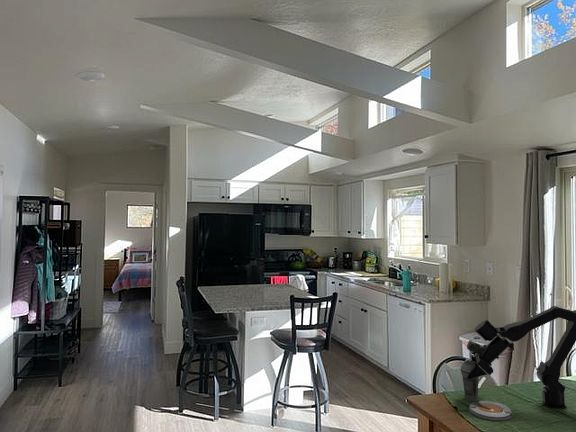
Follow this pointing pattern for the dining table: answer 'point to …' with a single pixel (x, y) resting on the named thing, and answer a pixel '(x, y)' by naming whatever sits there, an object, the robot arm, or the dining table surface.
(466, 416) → the dining table surface
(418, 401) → the dining table surface
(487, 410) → the disc
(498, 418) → the base
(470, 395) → the beverage cup
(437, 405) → the dining table surface
